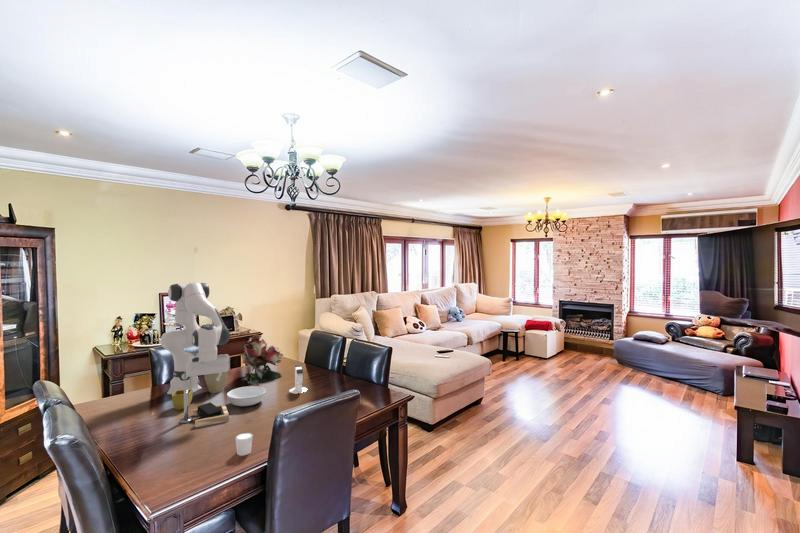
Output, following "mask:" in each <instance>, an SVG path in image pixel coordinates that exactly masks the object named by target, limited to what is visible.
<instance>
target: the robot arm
mask: <svg viewBox="0 0 800 533" xmlns="http://www.w3.org/2000/svg"><path fill="white" fill-rule="evenodd" d="M210 291H211V290H210V286H209V285H208V284H207V283H205V282H184V283H183V282H182V283H173V284H170V286H169V289H168V291H167V296H168V298H169V300H170V301H172V302H175V308H174V311H175V312H174V321H175V323H177V324H178V325H179V326H180V325H181V326H184V327H185V328H184V329H178V330H172V331H171V330H170V331H168V332H164V333H163V334H162V335H161V337H160V341H159V342H160V346H161V347H162V348H163V349H165V350H166V351H168V352H169V353H170V354H171V355H172V358H173V366H174V367H173V368H174V369H173V373H172V374H173V378H171V380H170V382H169V384H170V386H169V389H168V390H167V392H166V394H167V395H171V396H172V395H173V393H174V392H175V391H177V390H188V389H193V393H195V392H197V391H200V390H202V386H201V385H199V384H200V379H199V377H198V376H204V375H206V374H213V373H219V376H218V377H216V381H220V377H221V375H222V372H229V371H230V363H229V362H230V360H231V359H230V355H229V354H227V353H224V354H218V346H225V345H226V344H227V343H228V342H229V340H230V339H231V336H230V330H229V329H228V327H227V326H226V324H225V322H224V320H223V319H222V316H221V315H220V313H219V310H218V309H217V307H216V306H215V305H214V304H213V303H211V302H210V301H209V300H208V298H209V296H210ZM197 316H201V317H206V318H208V319H210V320H211V321H212V323H213V324H211V323H205V324H202V325H199V324H198V322H197V320H196V318H197ZM189 347H196V348H198V352H197V353H194V354H193V353H191V352H188V351H185V348H189Z"/></svg>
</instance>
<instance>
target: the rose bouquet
mask: <svg viewBox="0 0 800 533" xmlns="http://www.w3.org/2000/svg"><path fill="white" fill-rule="evenodd" d="M267 345H268V342H267V341H266V340H265V339H264V336H262V335H260V334H259V335H257V334H255V335H253V336H251V337H249V340H247V343H246V344H244V345H243V348H244V349H243V351H244V352H243V353H242V354H241V359H242V362H241V363H242V364H244V365H247V366H249V367H252V369H251V372H248V373H244V375H245V376H243V378H241V381H247V384H250V385H251V386H256V385H257V386H258V385H259V384H263V383H267V382H270V381H271V380H276V379H278V378H279V377H282V373H281V372H278V371H274V370H272V369H271V368H270V365H269V364H271V365H273V366H277V364H280V363H281V362H282V358H283V357H284V353H281V352H282V350H281V349H279V347H278V346H277V345H276V346H275V345H268V346H267ZM262 366H263V368H261V367H262ZM253 371H254V372H253Z"/></svg>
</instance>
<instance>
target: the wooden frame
mask: <svg viewBox="0 0 800 533" xmlns="http://www.w3.org/2000/svg"><path fill="white" fill-rule="evenodd" d="M215 406H216V407H218V408H219V409H220V410H221V415H220V416H215V417H209V418H204V419H203V418H200V419H199V418H198V419H195V420H194V427H195V428H200V427H205V426H210V425H211V426H212V425H216V424H220V423H226V422H229V420H230V414H229V412H228V408H227V406H226V405H225V404H224V403H223V404H222V403H221V404H216V405H215ZM197 410H198V408H193V409H192V413H193V414H192V416H193V417H197V416H199V415H198V414H197Z"/></svg>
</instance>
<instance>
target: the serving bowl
mask: <svg viewBox="0 0 800 533" xmlns="http://www.w3.org/2000/svg"><path fill="white" fill-rule="evenodd" d="M266 391H267V389H266V388H264V386H263V387H262V386H258V385H257V386H256V385H249V386H241V387H237V388H233V389H230V391H228V392H227V394H226V397H227V400H228V402H229V403H230V404H231V405H233V406H237V407H249V406H253V405H256V404H258V403H260V402H262V400H263V399H264V398H265V396H266V394H267V393H266Z"/></svg>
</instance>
